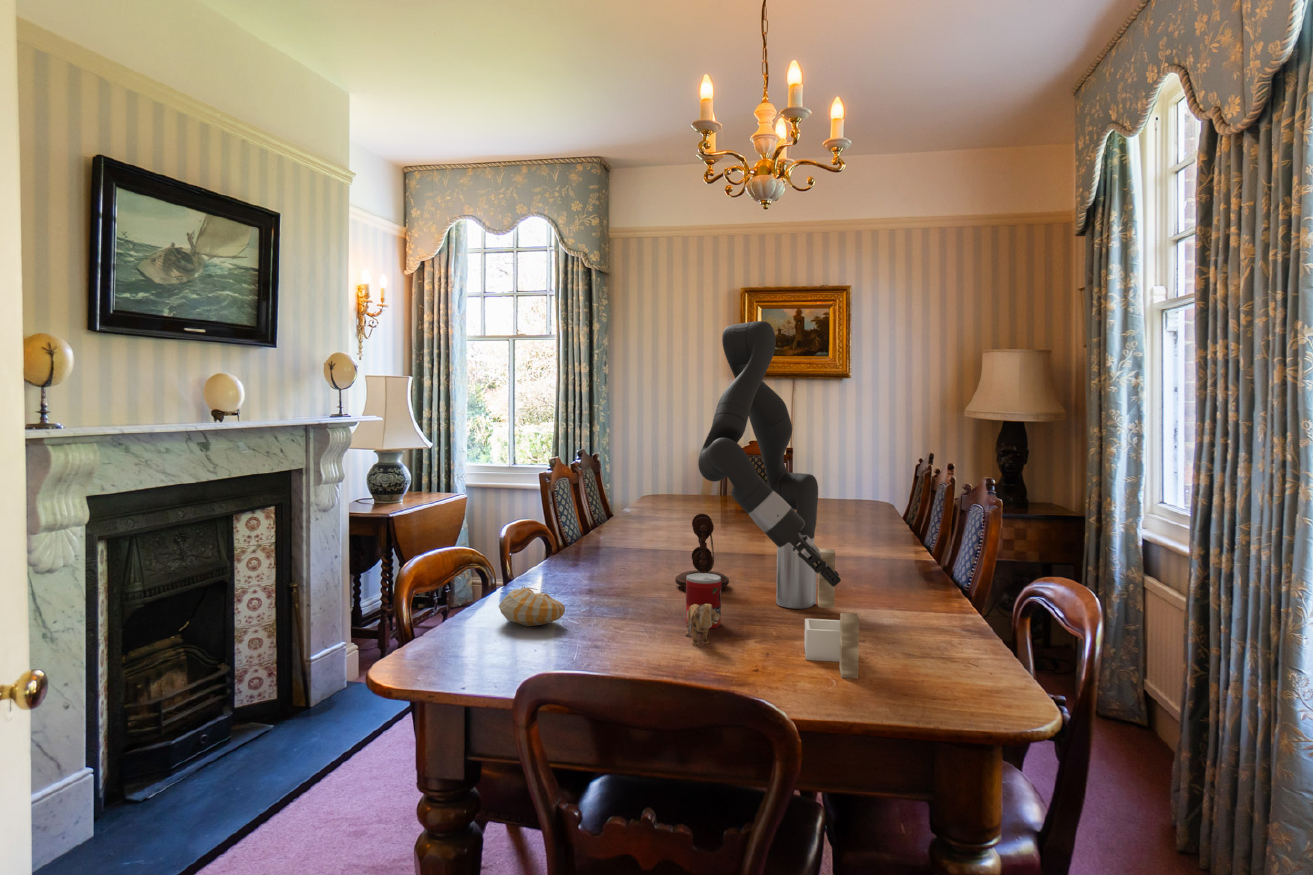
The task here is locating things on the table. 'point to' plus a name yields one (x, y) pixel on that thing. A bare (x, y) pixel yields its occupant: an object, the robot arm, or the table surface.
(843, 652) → the beige rectangular block
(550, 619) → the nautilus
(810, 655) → the open square box
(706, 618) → the lion figurine
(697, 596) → the canned food
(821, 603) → the tall square pillar
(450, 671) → the table surface
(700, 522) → the brown double wheel stand
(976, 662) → the table surface
